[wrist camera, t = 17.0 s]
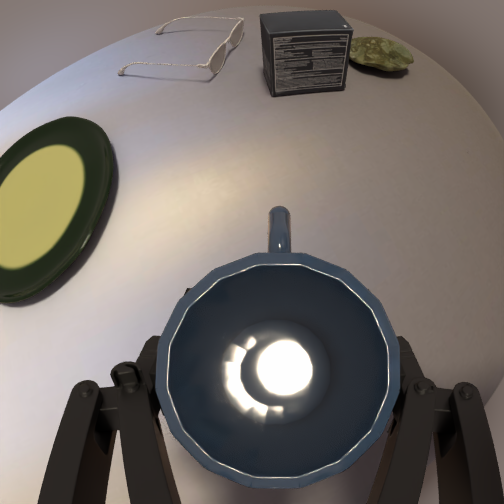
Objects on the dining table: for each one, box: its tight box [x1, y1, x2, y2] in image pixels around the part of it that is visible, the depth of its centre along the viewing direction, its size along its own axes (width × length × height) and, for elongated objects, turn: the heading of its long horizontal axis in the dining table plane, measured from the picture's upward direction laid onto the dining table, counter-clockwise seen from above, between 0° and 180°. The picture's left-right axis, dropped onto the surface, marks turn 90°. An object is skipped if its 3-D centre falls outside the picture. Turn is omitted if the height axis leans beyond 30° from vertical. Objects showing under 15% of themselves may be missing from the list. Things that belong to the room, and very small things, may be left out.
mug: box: [155, 206, 400, 489], centre depth 16 cm, size 11×8×12 cm
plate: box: [0, 116, 113, 303], centre depth 35 cm, size 28×28×2 cm
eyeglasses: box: [118, 17, 244, 75], centre depth 43 cm, size 15×18×4 cm
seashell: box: [349, 37, 414, 71], centre depth 40 cm, size 10×7×10 cm
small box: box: [260, 10, 354, 97], centre depth 36 cm, size 11×6×10 cm, turn 100°
